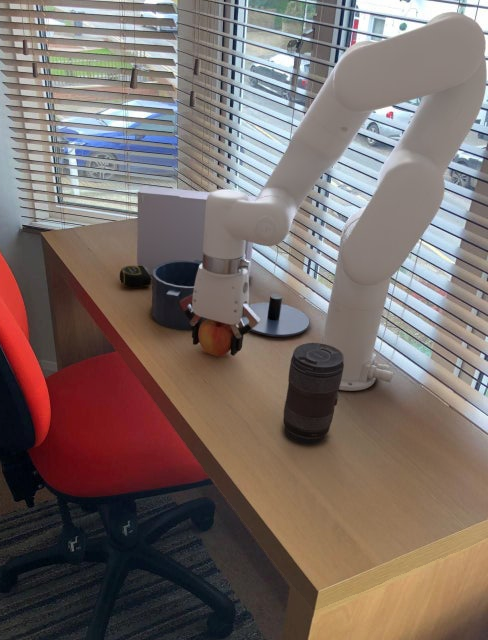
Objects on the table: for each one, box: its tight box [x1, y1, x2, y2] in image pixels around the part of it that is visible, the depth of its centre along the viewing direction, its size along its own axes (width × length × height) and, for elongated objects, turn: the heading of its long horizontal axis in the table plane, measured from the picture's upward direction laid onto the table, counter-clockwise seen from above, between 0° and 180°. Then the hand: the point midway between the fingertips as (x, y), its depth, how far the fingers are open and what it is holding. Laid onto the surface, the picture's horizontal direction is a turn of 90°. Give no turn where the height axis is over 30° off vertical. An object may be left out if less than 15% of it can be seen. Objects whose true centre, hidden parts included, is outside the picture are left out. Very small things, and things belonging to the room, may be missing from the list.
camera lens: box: [283, 342, 344, 446], centre depth 103 cm, size 8×8×15 cm
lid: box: [242, 293, 310, 338], centre depth 139 cm, size 15×15×6 cm
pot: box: [151, 260, 207, 331], centre depth 139 cm, size 14×20×10 cm
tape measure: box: [119, 265, 152, 289], centre depth 152 cm, size 7×7×4 cm
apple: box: [198, 319, 234, 357], centre depth 126 cm, size 7×7×8 cm
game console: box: [136, 185, 258, 280], centre depth 154 cm, size 6×27×20 cm, turn 81°
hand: (216, 346), depth 127 cm, fingers closed on apple, 7 cm apart
